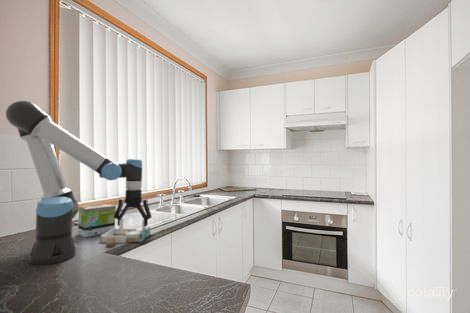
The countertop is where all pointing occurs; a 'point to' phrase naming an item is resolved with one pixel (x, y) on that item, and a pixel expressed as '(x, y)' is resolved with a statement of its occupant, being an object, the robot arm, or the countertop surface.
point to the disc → (133, 234)
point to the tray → (138, 239)
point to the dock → (117, 238)
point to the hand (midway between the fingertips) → (132, 232)
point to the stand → (110, 242)
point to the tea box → (96, 219)
